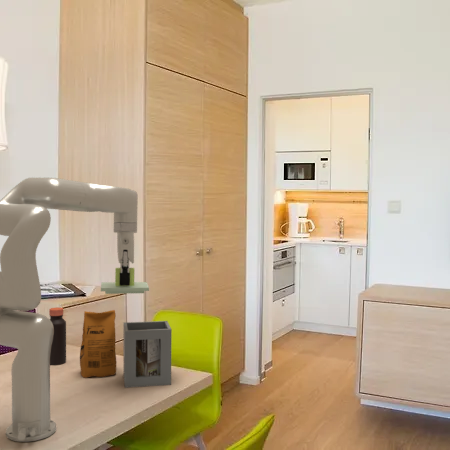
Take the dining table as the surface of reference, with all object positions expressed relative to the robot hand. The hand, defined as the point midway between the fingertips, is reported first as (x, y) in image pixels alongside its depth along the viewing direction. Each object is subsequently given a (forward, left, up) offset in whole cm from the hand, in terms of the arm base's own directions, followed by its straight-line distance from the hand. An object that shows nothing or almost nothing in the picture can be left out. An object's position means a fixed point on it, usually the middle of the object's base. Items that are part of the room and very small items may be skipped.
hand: (124, 283), depth 183 cm
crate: (+3, -8, -33) cm, 34 cm away
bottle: (+28, +23, -34) cm, 50 cm away
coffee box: (+3, -8, -33) cm, 34 cm away
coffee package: (+13, +8, -34) cm, 37 cm away
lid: (0, 0, -2) cm, 2 cm away
